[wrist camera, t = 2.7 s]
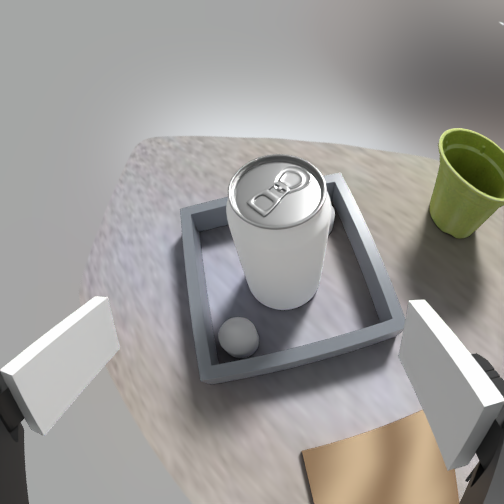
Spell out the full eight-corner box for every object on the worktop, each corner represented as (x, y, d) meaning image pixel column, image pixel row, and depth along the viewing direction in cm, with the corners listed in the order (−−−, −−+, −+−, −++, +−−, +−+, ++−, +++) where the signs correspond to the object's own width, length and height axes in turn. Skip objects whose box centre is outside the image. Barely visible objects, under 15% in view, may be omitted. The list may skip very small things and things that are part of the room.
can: (334, 275, 27) (356, 184, 17) (285, 326, 25) (279, 259, 15) (282, 234, 30) (274, 136, 19) (233, 279, 28) (197, 192, 18)
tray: (337, 192, 31) (340, 172, 29) (396, 336, 23) (407, 326, 21) (188, 226, 32) (180, 208, 29) (210, 384, 23) (200, 380, 21)
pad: (437, 402, 20) (440, 402, 19) (457, 512, 14) (460, 513, 13) (301, 450, 20) (301, 451, 19) (328, 564, 14) (328, 566, 13)
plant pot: (399, 193, 31) (420, 133, 23) (455, 176, 31) (479, 123, 24) (444, 264, 26) (484, 212, 18) (497, 237, 26) (535, 189, 19)
